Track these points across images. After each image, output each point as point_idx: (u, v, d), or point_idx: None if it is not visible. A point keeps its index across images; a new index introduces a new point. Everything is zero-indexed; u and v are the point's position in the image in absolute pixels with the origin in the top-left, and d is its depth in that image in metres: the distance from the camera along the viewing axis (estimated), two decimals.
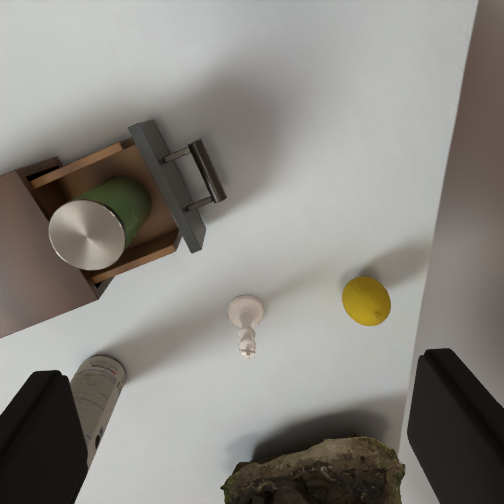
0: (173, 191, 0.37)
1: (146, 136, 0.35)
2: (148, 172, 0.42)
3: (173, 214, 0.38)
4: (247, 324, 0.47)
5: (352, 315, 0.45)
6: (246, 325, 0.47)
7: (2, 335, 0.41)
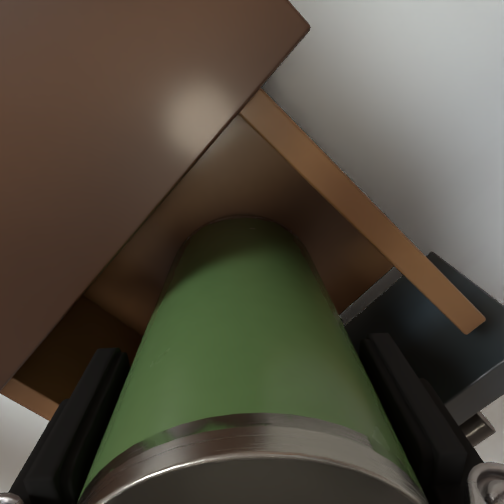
0: None
1: None
2: (339, 307, 0.17)
3: None
4: None
5: None
6: None
7: None
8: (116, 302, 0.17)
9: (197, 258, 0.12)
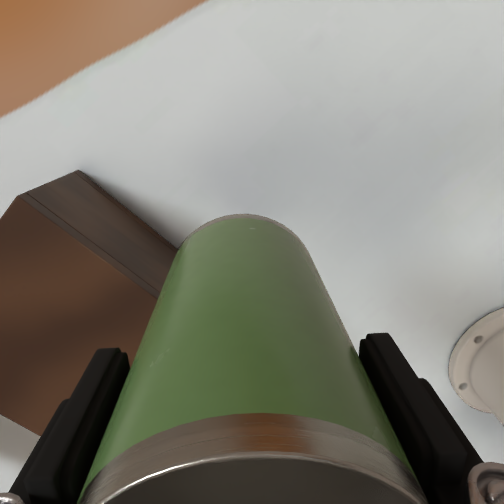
0: None
1: None
2: None
3: None
4: None
5: None
6: None
7: None
8: None
9: (197, 258, 0.12)
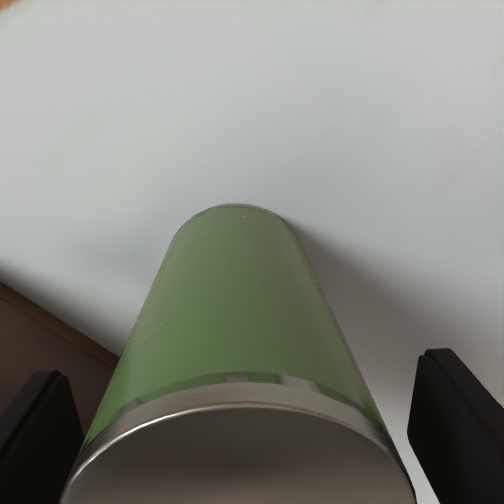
0: None
1: None
2: None
3: None
4: None
5: None
6: None
7: None
8: None
9: (190, 243, 0.13)
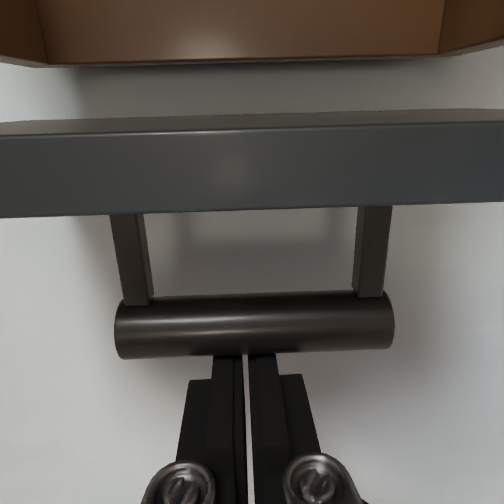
0: None
1: None
2: (320, 43, 0.10)
3: (94, 147, 0.05)
4: None
5: None
6: None
7: None
8: None
9: None
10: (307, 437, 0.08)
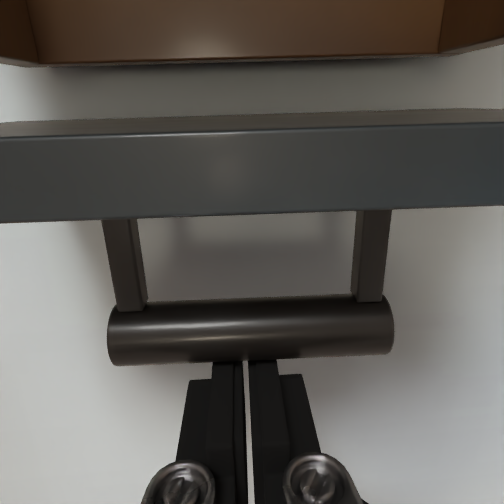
0: None
1: None
2: (318, 42, 0.10)
3: (82, 150, 0.05)
4: None
5: None
6: None
7: None
8: None
9: None
10: (307, 437, 0.08)
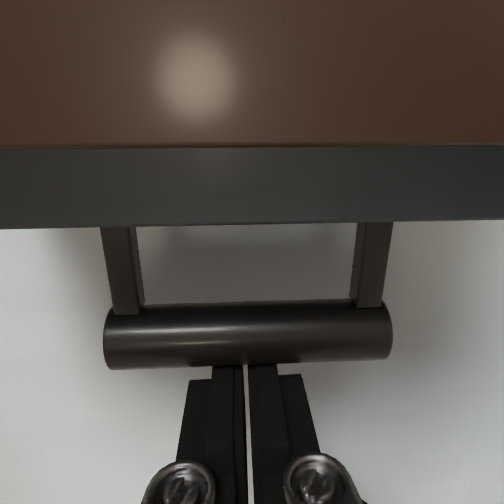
0: None
1: None
2: None
3: (85, 155, 0.05)
4: None
5: None
6: None
7: None
8: None
9: None
10: (306, 437, 0.08)
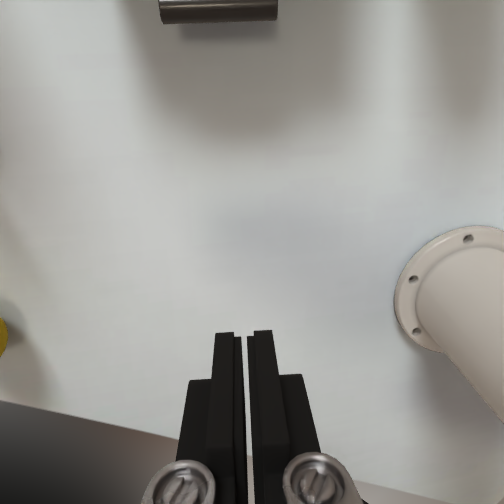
0: None
1: None
2: None
3: None
4: None
5: None
6: None
7: None
8: None
9: None
10: (307, 437, 0.08)
